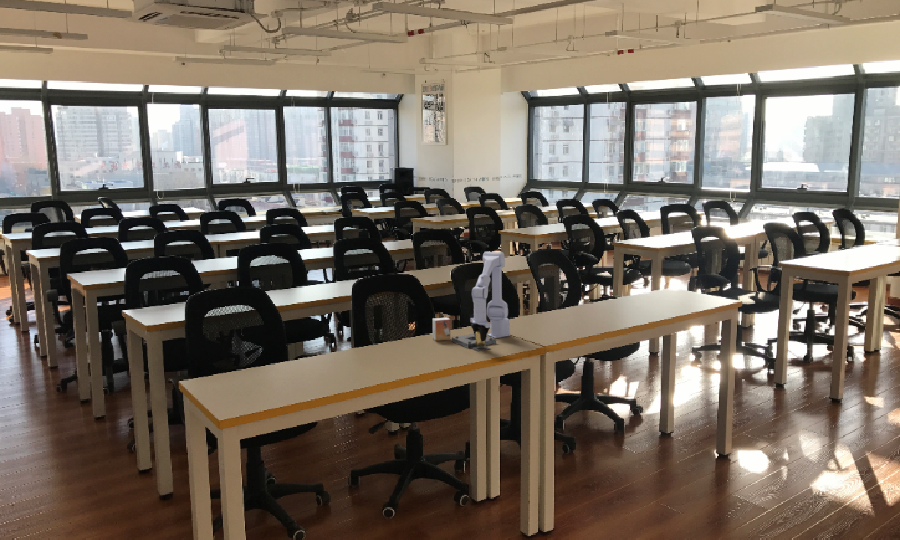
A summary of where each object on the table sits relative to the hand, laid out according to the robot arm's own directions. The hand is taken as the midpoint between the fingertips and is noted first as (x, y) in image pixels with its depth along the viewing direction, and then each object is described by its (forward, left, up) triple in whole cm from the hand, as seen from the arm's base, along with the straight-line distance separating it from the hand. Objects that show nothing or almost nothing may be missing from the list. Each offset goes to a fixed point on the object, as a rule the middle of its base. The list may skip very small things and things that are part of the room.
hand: (480, 339), depth 338 cm
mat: (0, 0, -4) cm, 4 cm away
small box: (+7, -26, -5) cm, 28 cm away
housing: (-3, -12, -4) cm, 13 cm away
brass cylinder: (0, 0, -3) cm, 3 cm away
